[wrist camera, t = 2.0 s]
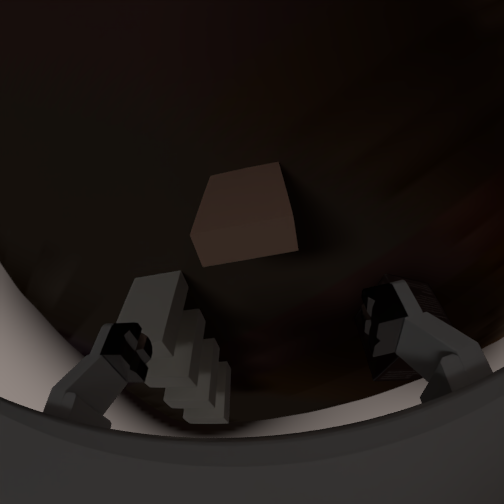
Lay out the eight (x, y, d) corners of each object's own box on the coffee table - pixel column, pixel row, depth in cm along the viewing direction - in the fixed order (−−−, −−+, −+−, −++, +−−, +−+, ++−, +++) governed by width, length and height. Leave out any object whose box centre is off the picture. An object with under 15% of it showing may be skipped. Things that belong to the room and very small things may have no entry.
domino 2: (156, 313, 25) (138, 376, 20) (199, 308, 25) (188, 376, 19) (164, 325, 26) (149, 387, 21) (205, 321, 26) (196, 387, 20)
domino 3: (174, 341, 28) (163, 400, 22) (214, 338, 27) (208, 400, 22) (181, 351, 29) (171, 408, 23) (219, 347, 28) (214, 407, 23)
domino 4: (190, 363, 31) (183, 417, 25) (226, 361, 30) (223, 417, 24) (196, 371, 32) (189, 423, 26) (231, 368, 31) (228, 423, 25)
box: (352, 316, 26) (370, 382, 20) (384, 270, 22) (416, 338, 16) (397, 323, 27) (418, 380, 21) (429, 282, 23) (461, 341, 18)
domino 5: (210, 175, 18) (189, 234, 12) (278, 161, 17) (293, 215, 11) (217, 200, 19) (202, 267, 13) (283, 187, 18) (298, 250, 12)
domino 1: (135, 278, 23) (108, 343, 17) (180, 270, 22) (161, 341, 17) (143, 293, 24) (121, 358, 18) (188, 286, 23) (173, 356, 18)
